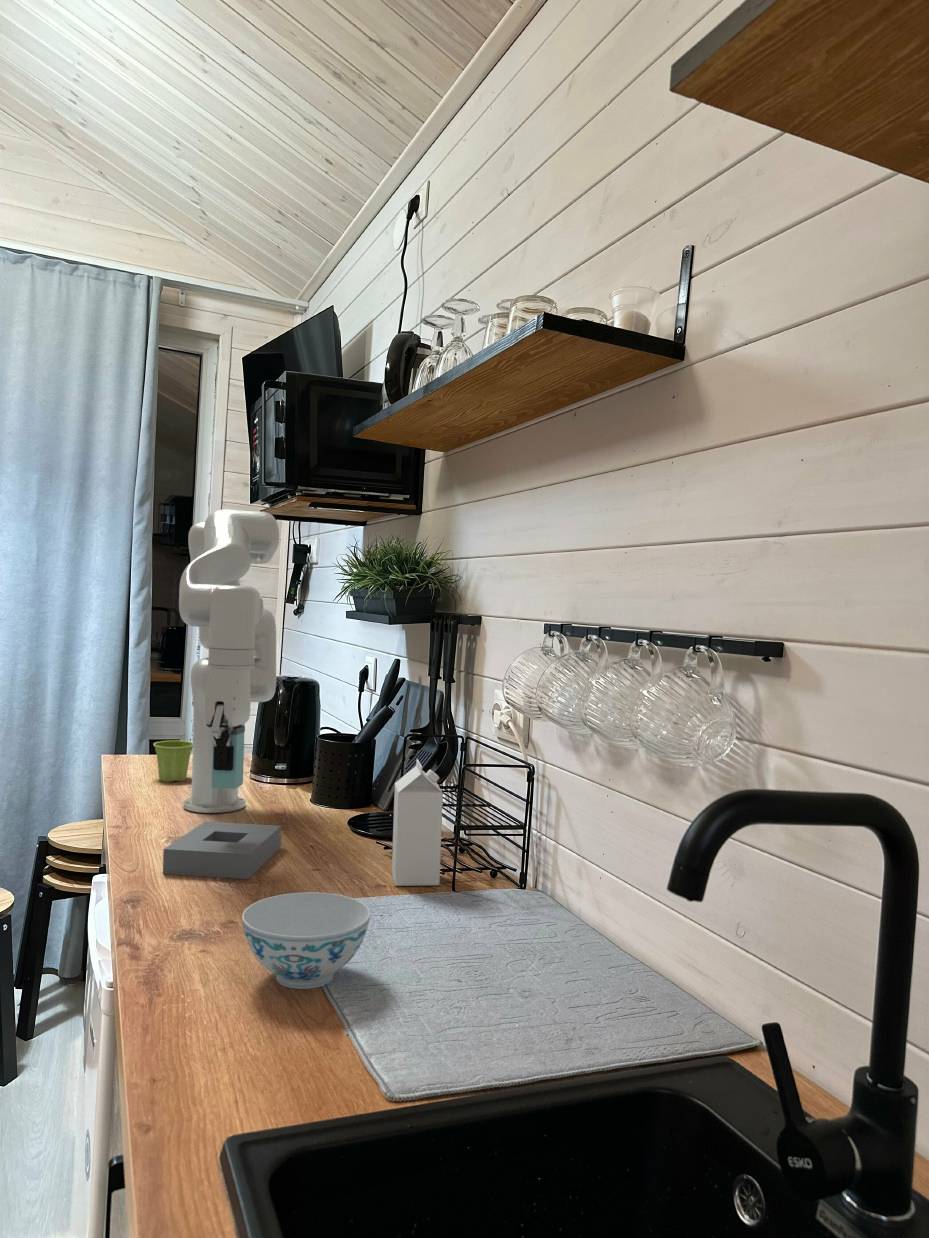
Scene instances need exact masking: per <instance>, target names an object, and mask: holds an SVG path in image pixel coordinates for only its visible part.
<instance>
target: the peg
mask: <svg viewBox="0 0 929 1238" xmlns="http://www.w3.org/2000/svg"><path fill="white" fill-rule="evenodd" d="M222 727H228V725H222ZM223 732H225V733H226V735H227V732H228V731H223ZM245 732H246V726H245V725H244V726H237V727H234V728H233V736H232V745H231V746H234V756H233V769H232V770H231V771H224V770H214V769H213V761H214V745H213V759H212V788H226V789H236V788H237V787H239V788H240V787H241V786H243V784H244V757H245V756H244V755H245ZM213 742H214V737H213Z"/></svg>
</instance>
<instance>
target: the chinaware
mask: <svg viewBox="0 0 929 1238" xmlns="http://www.w3.org/2000/svg"><path fill="white" fill-rule="evenodd" d="M241 915H242V916H241V921H242V927H243V932H244V935H245V939H246V941H247V944H248V946H249V949H250V950H251V952H252V954H253V956H254V957H255V959H256V960H258V962H259V963H260V964H261V965H262V966H263V967H264V968H265V969H266V970H268V971H269V972H271V973H272V974H274V975H275V977H276V978H275V979H276V981H277V983H278V984H279V985H281V986H284V987H285V988H289V989H294V990H309V989H316V988H320V987H322V986H325V985H327V984H328V983H330V982H331V981H332V980H333V978H334V974H335V973H336V972H338V971H339V970H341V969H342V968H343V967H344V966H346V965H347V964H348V963H349V962H350V961H351V959H353V957H354V956H355V955H356V953H357V952H358V950H359V949H360V947H361V945H362V944H363V940H364V939H365V937H366V934H367V931H368V927H369V923H370V918H371V910H370V908H369V907H368V906H367V904H365V903H364V902H362V901H360V900H358V899H356V898H352V897H350V896H347V895H341V894H337V893H330V892H329V893H328V892H316V891H315V892H314V891H312V892H310V891H308V892H294V893H293V892H291V893H286V894H285V893H284V894H279V895H278V894H277V895H275V896H270V897H266V898H263V899H260V900H258V901H256V902H254V903H252V904H250V905H249V906H248V907H246V908H245V909H244V911H243V912H242V914H241Z"/></svg>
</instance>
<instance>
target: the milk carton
mask: <svg viewBox="0 0 929 1238" xmlns="http://www.w3.org/2000/svg"><path fill="white" fill-rule="evenodd" d="M415 761H416V762H415V763H416V764H415V766H414V767H413V768H411V769H410V770H408V772H407V773H406V774H404V775H403V776H402V777H400V779H398V780H397V781H395V783H394V799H393V822H392V823H393V826H392V828H393V829H392V854H391V858H392V860H391V875H392V879H393V883H394V886H395V887H402V886H404V887H409V886H411V887H412V886H414V887H415V886H423V887H424V886H440V882H441V881H440V878H441V877H440V876H441V850H442V849H441V848H442V847H441V846H442V827H443V826H442V824H443V822H442V821H443V820H442V819H443V801H444V800H443V799H444V797H443V795H444V794H443V790H442V788H440V785H438V783H437V782H438V781H439V780H440V776H439V775H438V774H437V773H435V771H433V770H432V769H429V770H427V772H425V771H424V770H423V766H422V764H421V761H419V759H415Z"/></svg>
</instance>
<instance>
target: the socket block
mask: <svg viewBox="0 0 929 1238" xmlns="http://www.w3.org/2000/svg"><path fill="white" fill-rule="evenodd" d="M281 838H282V825H271V824H267V825H266V824H254V823H253V824H252V823H250V824H249V823H239V822H236V823H235V822H220V821H218V822H217V821H203V822H202V823H200V824H199V825H197V826H195V828H193V829H191V830H190V831H188V832H187V833H186V834H184V835H182V836H181V837H180V838H177V840H175V841H174V842H172V843H170V844H169V845H167V846H166V847H164V848H163V852H162V853H163V855H162V857H163V859H162V863H163V864H162V874H164V875H174V876H188V877H189V876H191V877H207V878H208V877H209V878H220V879H221V878H223V879H236V880H238V879H239V880H249V879H250V878H252V876H253V875H254V874H256V872H258V871H259V870H260V869H261V868H262V867H263V866H264V865H265V864H266V863H267V862H268V861H269V860H270V859H271V858H272V857H273V856H274V855H275V854H276V853H277V852H278V851H279V850H280V849H281V844H282V839H281Z"/></svg>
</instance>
